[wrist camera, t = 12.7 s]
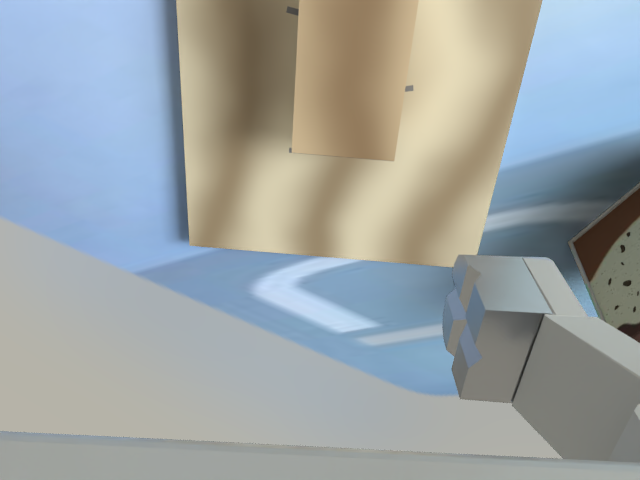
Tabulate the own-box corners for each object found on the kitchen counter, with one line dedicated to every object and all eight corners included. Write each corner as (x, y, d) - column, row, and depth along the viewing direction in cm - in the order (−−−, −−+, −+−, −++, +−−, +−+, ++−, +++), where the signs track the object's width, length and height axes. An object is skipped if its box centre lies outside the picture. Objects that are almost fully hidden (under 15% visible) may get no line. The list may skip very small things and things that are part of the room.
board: (193, 235, 37) (189, 245, 36) (178, -81, 28) (171, -80, 27) (469, 258, 37) (473, 269, 36) (546, -50, 28) (554, -48, 27)
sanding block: (298, 120, 32) (291, 152, 28) (307, -40, 28) (300, -28, 24) (388, 128, 32) (394, 161, 28) (411, -31, 28) (421, -18, 24)
